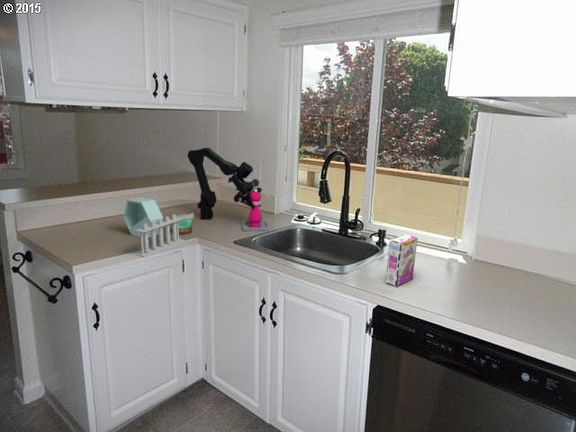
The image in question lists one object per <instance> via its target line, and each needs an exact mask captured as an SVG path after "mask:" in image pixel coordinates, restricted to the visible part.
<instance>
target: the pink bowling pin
mask: <svg viewBox="0 0 576 432" xmlns="http://www.w3.org/2000/svg"><path fill="white" fill-rule="evenodd" d="M253 190H254V192H252V193H251V194H250V199H251V201H252V203H253V204H254V206H255V208H254V209H253V208H251V210H250V211H249V214H248V218H247V219H248V220H247V221H250V223H249V227H261V223H260V222H261V221H263V216H262V213H261V210H260V207H259V204H261V199H262V194H261V193H259V192H257V189H255V188H254V189H253Z"/></svg>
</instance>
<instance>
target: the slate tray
mask: <svg viewBox="0 0 576 432" xmlns="http://www.w3.org/2000/svg"><path fill="white" fill-rule="evenodd" d="M249 223H250V221H249V220H244V221H242V232H270V230H269V229H270V228H269V223H268V220H261V222H260V223H261V227H249Z"/></svg>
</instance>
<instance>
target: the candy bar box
mask: <svg viewBox="0 0 576 432" xmlns="http://www.w3.org/2000/svg"><path fill="white" fill-rule="evenodd" d="M418 239H419V238H418V237H415V236H412V235H409V234H405V235H402V236H399V237H395V238H392V239H390V240H389V244H388V245H389V246H388V255H387V263H386V273H385V284H387V285H390V286H392V287H394V288H396V287H400V286H401V285H404V284H406V283H408V282H410V281H411V280H413V279H414V278H413V277H414V269H415V261H416V254H417V247H418Z"/></svg>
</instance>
